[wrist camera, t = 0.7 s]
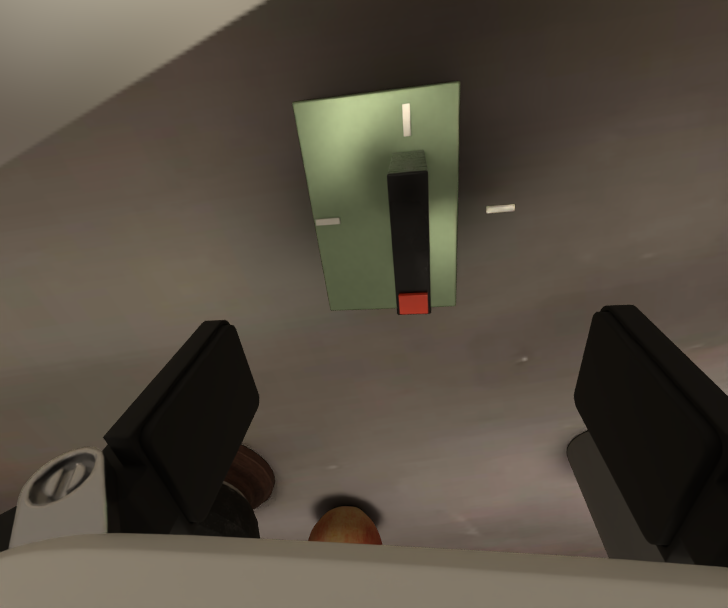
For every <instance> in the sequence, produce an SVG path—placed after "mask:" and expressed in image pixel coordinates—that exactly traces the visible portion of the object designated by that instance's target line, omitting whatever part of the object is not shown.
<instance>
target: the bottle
mask: <svg viewBox="0 0 728 608" xmlns="http://www.w3.org/2000/svg"><path fill="white" fill-rule="evenodd" d="M567 456H568V460H569V462H570V465H571V467H572V470H573V473H574V475H575V477H576V480H577V482H578V485H579V487H580V489H581V492H582V494H583V497H584V499H585V501H586V504H587V506H588V509H589V511H590V514H591V516H592V518H593V521H594V523H595V526H596V528H597V530H598V533H599V535H600V538H601V540H602V542H603V545H604V547H605V550H606V552H607V554H608V557H609V558H612V559H626V560H639V561H651V562H664V563H665V561H664V559H663V557H662V556H661V554H660V552H659V550H658V548H657V546H656V545H651V544H650V543H648V541H647V540H646V539H645V538H644V536H643V534H642V532H641V531H640V529H639V527H638V525H637V523H636V521H635V519H634V517H633V515H632V513H631V511H630V509H629V508H628V506H627V504H626V502H625V500H624V498H623V496H622V494H621V492H620V490H619V488H618V486H617V485H616V483H615V481H614V479H613V477H612V475H611V473H610V471H609V469H608V467H607V465H606V463H605V462H604V460H603V458H602V456H601V454H600V452H599V450H598V448H597V446H596V444H595V442H594V440H593V438H592V437H591V435H590V433H589V431H588V432H585V433H583V434H581V435H579V436H578V437H576V438H575V439H574V440H573V441H572V442H571V443H570V445H569V447H568V450H567Z"/></svg>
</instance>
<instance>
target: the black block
mask: <svg viewBox="0 0 728 608" xmlns="http://www.w3.org/2000/svg"><path fill="white" fill-rule="evenodd" d="M387 188H388V201H389V214H390V227H391V240H392V253H393V266H394V279H395V292H396V305H397V314H398V315H406V314H430V313H431V282H430V234H429V185H428V168H427V163H426V158H425V152H424V150H419V151H409V152H399V153H393V154H392V157H391V161H390V165H389V169H388V172H387Z"/></svg>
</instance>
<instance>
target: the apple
mask: <svg viewBox="0 0 728 608" xmlns="http://www.w3.org/2000/svg"><path fill="white" fill-rule="evenodd" d="M308 541H317V542H336V543H354V544H372V545H382V542H381V538H380V535H379V533H378V530H377V528H376V526H375V525H374V523H373V522H372V520H371V519H370V518H369V517H368V516H367V515H366V514H365V513H364V512H363V511H362V510H360V509H359V508H357V507H352V506H341V507H337V508H334V509H332V510H330V511H328V512H327V513H326V514H324V515H323V516H322V517H321V519H320V520H319V521H318V522H317V523H316V525H315V526H314V528H313V529H312V531H311V534H310V537H309V540H308Z"/></svg>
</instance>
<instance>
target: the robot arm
mask: <svg viewBox="0 0 728 608" xmlns="http://www.w3.org/2000/svg"><path fill="white" fill-rule="evenodd" d="M574 401H575V405H576V408H577V410H578V412H579V414H580V415H581V417H582V419H583V421H584V423H585V425H586V427H587V429H588V431H589V433H590V435H591V437H592V438H593V440H594V442H595V444H596V446H597V448H598V450H599V452H600V454H601V456H602V458H603V460H604V462H605V463H606V465H607V467H608V469H609V471H610V473H611V475H612V477H613V479H614V481H615V483H616V485H617V486H618V488H619V490H620V492H621V494H622V496H623V498H624V500H625V502H626V504H627V506H628V508H629V509H630V511H631V513H632V515H633V517H634V519H635V521H636V523H637V525H638V527H639V529H640V531H641V532H642V534H643V536H644V538H645V539H646V540H647V541H648V543H650V544H651V545H656V546H657V548H658V550H659V552H660V554H661V556H662V557H663V559H664V561H665V563H664V562H651V561H639V560H626V559H612V558H595V557H578V556H562V555H545V554H529V553H512V552H496V551H479V550H462V549H444V548H426V547H409V546H391V545H372V544H354V543H336V542H317V541H298V540H278V539H257V538H237V537H217V536H197V535H193V534H194V532H195V530H196V528H197V526H198V524H199V522H202V521H204V520H205V519H206V517H207V515H208V513H209V511H210V509H211V507H212V505H213V503H214V501H215V498H216V496H217V494H218V492H219V490H220V488H221V486H222V483H223V481H224V479H225V477H226V475H227V473H228V471H229V468H230V466H231V464H232V462H233V460H234V458H235V456H236V454H237V451H238V449H239V447H240V445H241V443H242V441H243V439H244V436H245V434H246V432H247V430H248V428H249V426H250V424H251V421H252V419H253V417H254V415H255V413H256V411H257V409H258V406H259V394H258V391H257V388H256V385H255V382H254V379H253V377H252V374H251V371H250V368H249V365H248V362H247V359H246V356H245V354H244V351H243V348H242V345H241V342H240V339H239V336H238V333H237V331H236V328H235V327H234V326H233V325H230V324H229V322H228V321H226V320H215V321H204V322H203V323H202V324H201V325H200V326H199V327H198V329H197V330H196V331H195V332H194V333H193V334H192V336H191V337H190V338H189V339H188V340H187V341H186V342H185V344H184V345H183V346H182V347H181V348H180V349H179V350H178V352H177V353H176V354H175V355H174V356H173V357H172V359H171V360H170V361H169V362H168V363H167V364H166V365H165V367H164V368H163V369H162V370H161V371H160V372H159V373H158V375H157V376H156V377H155V378H154V379H153V380H152V382H151V383H150V384H149V385H148V386H147V387H146V388H145V390H144V391H143V392H142V393H141V394H140V395H139V396H138V398H137V399H136V400H135V401H134V402H133V403H132V405H131V406H130V407H129V408H128V409H127V410H126V411H125V413H124V414H123V415H122V416H121V417H120V418H119V419H118V421H117V422H116V423H115V424H114V425H113V426H112V428H111V429H110V430H109V431H108V432H107V433H106V434H105V436H104V437H103V438H104V439H105V441H106V442H107V444H108V445H107V446H106V447H105V448H104V449H103V451H101V450H100V449H98V448H97V447H89V446H87V447H81V448H76V449H74V450H71V451H68V452H66V453H64V454H62V455H60V456H58V457H56V458H54V459H53V460H51V461H50V462H48V463H47V464H46V465H44V466H43V467H41V468H40V469H39V470H38V471H37V472H36V473H35V474H34V475H33V476H32V477H31V478H30V479H29V480H28V482H27V483H26V484H25V486H24V487H23V488H22V491H21V493H20V496H19V498H18V503H17V506H16V507H14V508H12V509H10V510H8V511H6V512H4V513H3V514H1V515H0V608H728V396H727V395H726V394H725V393H724V392H723V391H722V390H721V389H720V388H719V387H718V386H717V385H716V384H715V383H714V382H713V381H712V380H711V379H710V378H709V377H708V376H707V375H706V374H705V373H704V372H703V371H701V370H700V369H699V368H698V367H697V366H696V365H695V364H694V363H693V362H692V361H691V360H690V359H689V358H688V357H687V356H686V355H685V354H684V353H683V352H682V351H681V350H680V349H679V348H678V347H677V346H676V345H675V344H674V343H673V342H672V341H671V340H670V339H669V338H668V337H666V336H665V335H664V334H663V333H662V332H661V331H660V330H659V329H658V328H657V327H656V326H655V325H654V324H653V323H652V322H651V321H650V320H649V319H648V318H647V317H646V316H645V315H644V314H643V313H642V312H641V311H640V310H639V309H638V308H637V307H635V306H634V305H611V306H604V307H603V308H602V309H601V311H600V312H596V313H595V314H594V315H593V318H592V322H591V326H590V330H589V334H588V339H587V343H586V347H585V351H584V355H583V359H582V363H581V367H580V371H579V376H578V380H577V384H576V388H575V392H574ZM169 533H170V534H171V535H169Z"/></svg>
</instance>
